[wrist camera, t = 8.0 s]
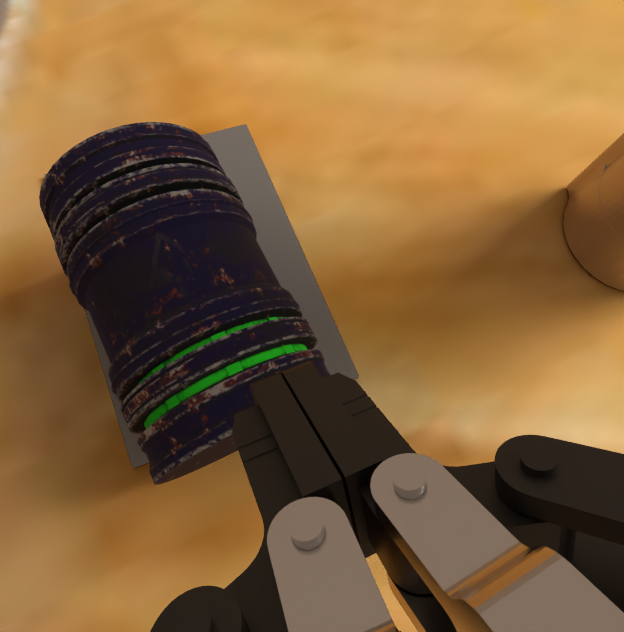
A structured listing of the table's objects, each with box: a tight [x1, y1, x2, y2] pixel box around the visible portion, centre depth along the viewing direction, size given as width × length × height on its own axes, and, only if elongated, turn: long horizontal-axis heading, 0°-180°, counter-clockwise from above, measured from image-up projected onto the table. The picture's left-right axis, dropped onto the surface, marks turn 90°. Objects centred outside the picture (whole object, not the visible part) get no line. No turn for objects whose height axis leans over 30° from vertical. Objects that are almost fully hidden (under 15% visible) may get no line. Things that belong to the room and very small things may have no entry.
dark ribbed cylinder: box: [39, 122, 330, 484], centre depth 25 cm, size 10×10×15 cm
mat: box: [44, 124, 359, 469], centre depth 31 cm, size 20×14×1 cm
